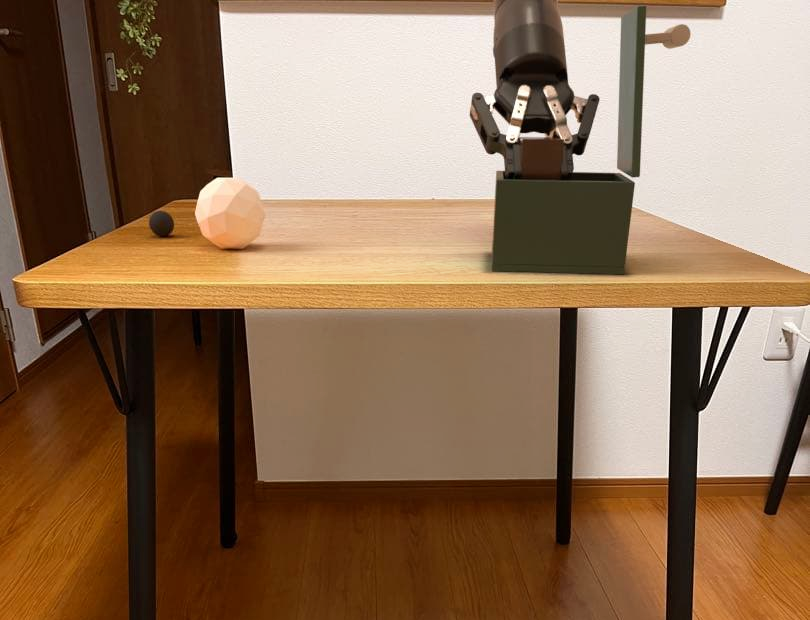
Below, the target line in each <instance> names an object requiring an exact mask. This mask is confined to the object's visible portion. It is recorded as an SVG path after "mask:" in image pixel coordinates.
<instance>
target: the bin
mask: <svg viewBox="0 0 810 620" xmlns="http://www.w3.org/2000/svg"><path fill="white" fill-rule="evenodd" d="M635 187H636V182H635V181H633V180H632V179H630V178H628V177H627V176H626V175H624V174H622V173H621V172H591V171H589V172H588V171H573V173H572V176H571V179H570V181H565V180H512V179H506V178H505V170H496V171H495V188H494V189H495V190H494V207H493V224H492V225H493V226H492V243H491V272H516V273H517V272H518V273H519V272H522V273H523V272H524V273H558V274H593V275H594V274H595V275H598V274H599V275H625V267H626V261H627V252H628V245H629V244H628V243H629V236H630V227H631V219H632V213H633V212H632V211H633V203H634V195H635Z"/></svg>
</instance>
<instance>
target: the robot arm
mask: <svg viewBox="0 0 810 620" xmlns="http://www.w3.org/2000/svg"><path fill="white" fill-rule="evenodd" d="M492 6H493V7H492V8H493V19H494V21H493V22H494V23H493V24H494V25H493V37H492V38H493V42H492V43H493V46H492V47H493V48H492V54H493V59H494V67H495V68H494V70H495V85H496V89H495V90H494V94H493V95H492V94H491V95H488V96H485V97H484V95H483V93H481V92H475V93H473V94H472V96H471V102H470V109H469V117H470V120H471V122H472V124H473V126H474V128H475V131H476V134H477V135H478V137H479V140H480V141H481V142H480V143H481V144H482V146H483V148H484V150H485V152H486V153H487V154H488V155H495V154H496V153H497V154H499V155H501V156H502V157H503V164H504V165H503V166H504V171H505V178H506V179H512V180H521V177H522V166H521V162H520V149H519V144H517V141H518V137H521V134H530V133H537V134H544V137H556V138H560V139H564V147H563V159H562V167H561V177H560V180H565V181H570V179H571V176H572V173H573V172H574V170H575V165H574V164H575V163H574V157H573V155H575V156H582V155H584V153H585V150H586V147H587V144H588V140H589V138H590V135H591V131H592V129H593V124H594V120H595V118H596V114H597V111H598V108H599V104H600V100H601V99H600V96H599V95H598V94H595V93H592V94H590V95H588V97H587V98H584V97H581V96H576V95H575V92H574V90H573V89H572V88H571V86H570V84H569V75H568V74H569V73H568V65H567V56H566V45H565V34H564V27H563V21H562V18H561V17H562V16H561V14H560V10H559V0H492ZM494 110H495V111H496V112H497V113H498V114H499V115H500V117H502V119H503V120H504V121H506V123H507V124H508V129H507V133H506V134H504V133H501V131H500V129H499V127H498V125H497V124H498V123H496V120H495V118H494V116H493V114H494ZM570 111H573V112H574V117H575V119H576V122H577V123H578V124H579V127H578V130H577V133H574V134H572V132H571V130H570V129H569V126H568V118H567V114H568V113H569V112H570Z"/></svg>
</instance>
